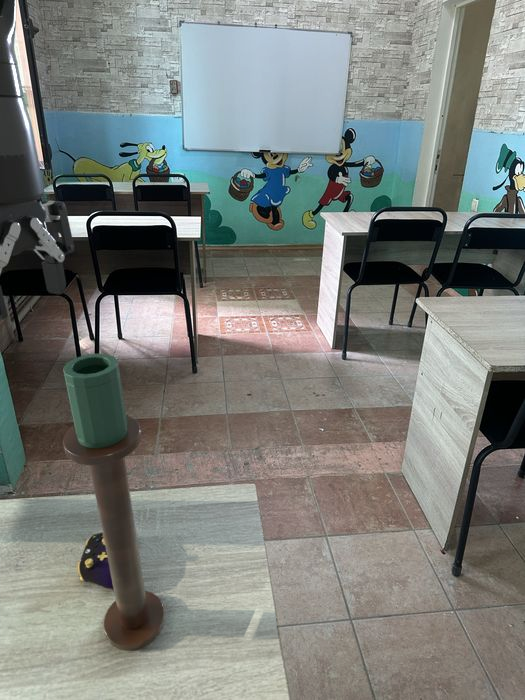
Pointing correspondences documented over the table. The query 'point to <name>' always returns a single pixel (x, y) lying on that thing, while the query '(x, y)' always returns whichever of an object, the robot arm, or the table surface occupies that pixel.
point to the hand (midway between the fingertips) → (29, 304)
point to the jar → (96, 400)
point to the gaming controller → (95, 563)
